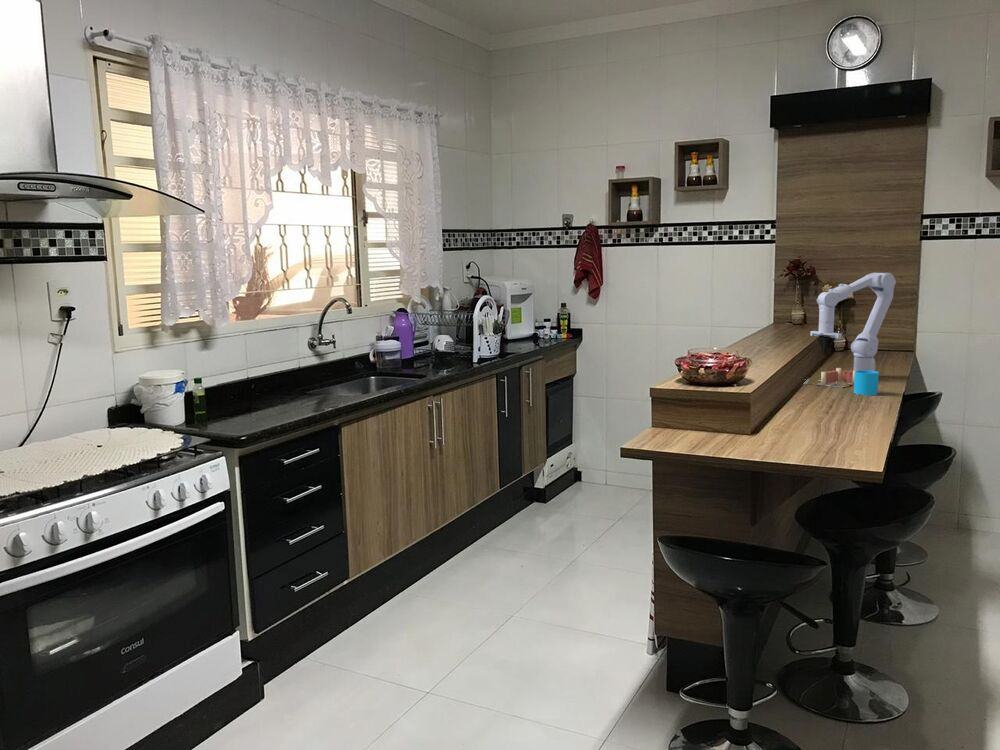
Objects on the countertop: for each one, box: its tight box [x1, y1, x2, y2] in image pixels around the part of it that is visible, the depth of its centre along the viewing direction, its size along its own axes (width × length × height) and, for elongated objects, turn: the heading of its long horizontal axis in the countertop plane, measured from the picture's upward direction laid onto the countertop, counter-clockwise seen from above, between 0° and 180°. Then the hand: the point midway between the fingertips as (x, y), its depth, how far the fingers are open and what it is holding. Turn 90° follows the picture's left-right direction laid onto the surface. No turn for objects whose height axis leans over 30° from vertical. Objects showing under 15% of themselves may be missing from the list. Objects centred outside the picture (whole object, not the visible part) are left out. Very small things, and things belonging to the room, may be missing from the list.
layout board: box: [802, 377, 852, 389], centre depth 329 cm, size 23×20×1 cm
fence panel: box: [820, 369, 838, 385], centre depth 322 cm, size 10×2×5 cm, turn 128°
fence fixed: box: [835, 367, 855, 384], centre depth 324 cm, size 8×2×6 cm, turn 46°
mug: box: [853, 370, 880, 396], centre depth 303 cm, size 12×8×8 cm
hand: (824, 354), depth 335 cm, fingers closed
